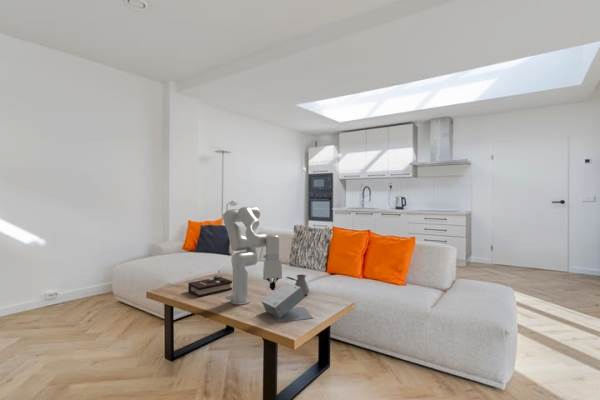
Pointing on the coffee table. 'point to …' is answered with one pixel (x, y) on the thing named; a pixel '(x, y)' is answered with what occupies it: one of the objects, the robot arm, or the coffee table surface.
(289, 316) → the mat
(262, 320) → the coffee table surface
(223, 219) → the robot arm
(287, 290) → the hard drive box
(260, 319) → the coffee table surface
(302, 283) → the coffee pot
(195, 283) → the decorative book
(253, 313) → the coffee table surface
